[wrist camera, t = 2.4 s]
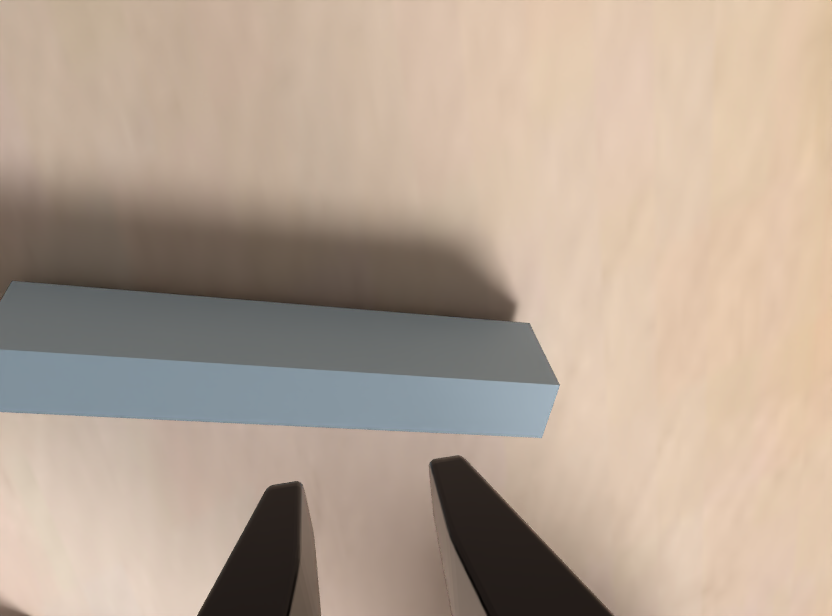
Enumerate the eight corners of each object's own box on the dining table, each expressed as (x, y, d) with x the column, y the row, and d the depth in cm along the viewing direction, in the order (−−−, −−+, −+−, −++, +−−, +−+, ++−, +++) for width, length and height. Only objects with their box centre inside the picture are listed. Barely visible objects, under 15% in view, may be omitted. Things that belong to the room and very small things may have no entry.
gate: (12, 280, 20) (-28, 347, 17) (529, 323, 23) (559, 385, 20) (17, 339, 21) (-20, 411, 18) (514, 372, 24) (541, 438, 21)
